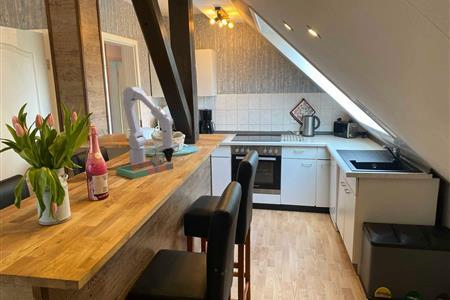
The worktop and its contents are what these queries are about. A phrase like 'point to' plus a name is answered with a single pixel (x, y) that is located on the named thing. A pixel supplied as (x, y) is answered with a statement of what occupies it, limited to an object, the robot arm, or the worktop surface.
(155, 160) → the game die
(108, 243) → the worktop surface
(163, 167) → the trap track
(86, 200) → the worktop surface
